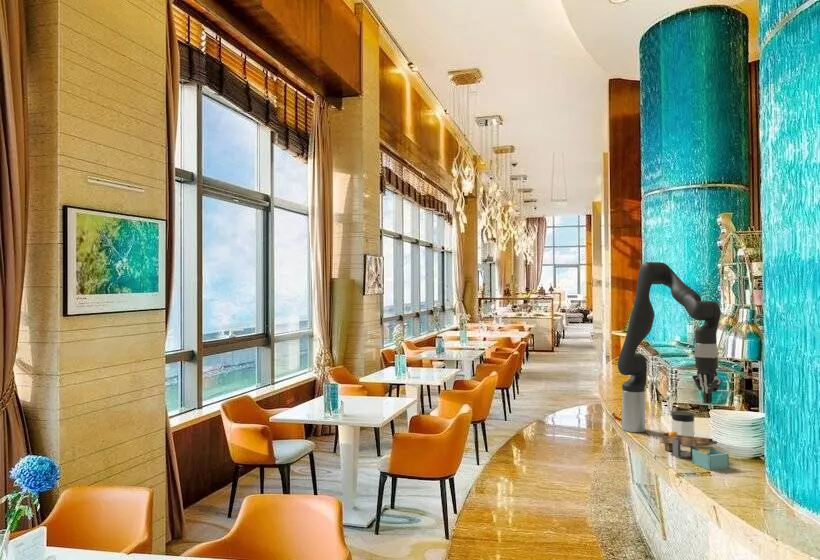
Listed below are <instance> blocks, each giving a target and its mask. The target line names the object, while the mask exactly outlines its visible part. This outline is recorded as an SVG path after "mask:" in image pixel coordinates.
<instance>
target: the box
mask: <svg viewBox="0 0 820 560" xmlns="http://www.w3.org/2000/svg"><path fill="white" fill-rule="evenodd" d="M729 455H730V454H729V453H727V452H724V451H721V450H719V449H717V448H714V447H710V446H709V453H708V452H707V453H704V452H702V451H699V450H698V451H697V450H694V449H692V458H691V459H692V460H691V463H692V464H693V463H694V464H693V465H696V464H697V465H696V466H698V465H699V467H700V466H701V467H700V468H704V469H705V468H706V470H708V471H715V470H717V471H718V470H726V469H729V468H730V467H729V466H730V465H729V463H730V462H729V460H730V459H729Z"/></svg>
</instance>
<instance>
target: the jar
mask: <svg viewBox="0 0 820 560" xmlns="http://www.w3.org/2000/svg"><path fill="white" fill-rule="evenodd" d="M695 426H696V425H695V413H693V412H691V411H686V410H684V411H683V410H675V411H672V412H671V431H675V432H677V434H678V435H683V436H692V437H694V435H696V431H695V428H696V427H695Z"/></svg>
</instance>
